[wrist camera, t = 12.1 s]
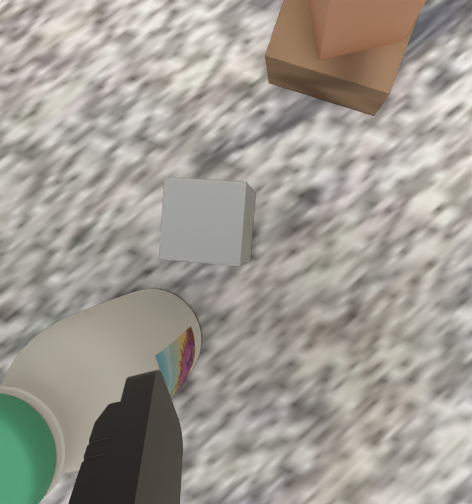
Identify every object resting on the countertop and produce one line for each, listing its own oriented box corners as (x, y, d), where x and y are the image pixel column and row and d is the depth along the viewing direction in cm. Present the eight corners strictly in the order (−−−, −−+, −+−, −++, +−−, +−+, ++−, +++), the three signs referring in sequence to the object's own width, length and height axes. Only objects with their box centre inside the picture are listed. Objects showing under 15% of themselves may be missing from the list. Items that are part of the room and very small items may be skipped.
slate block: (186, 254, 34) (158, 259, 27) (190, 188, 33) (164, 176, 26) (250, 259, 33) (239, 266, 26) (256, 193, 33) (246, 182, 26)
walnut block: (269, 82, 32) (265, 55, 27) (306, -25, 32) (308, -73, 27) (374, 115, 31) (389, 93, 26) (414, 6, 31) (437, -38, 26)
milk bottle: (88, 330, 35) (-180, 455, 15) (159, 267, 34) (-27, 312, 14) (150, 405, 34) (-40, 636, 15) (223, 343, 34) (126, 501, 14)
